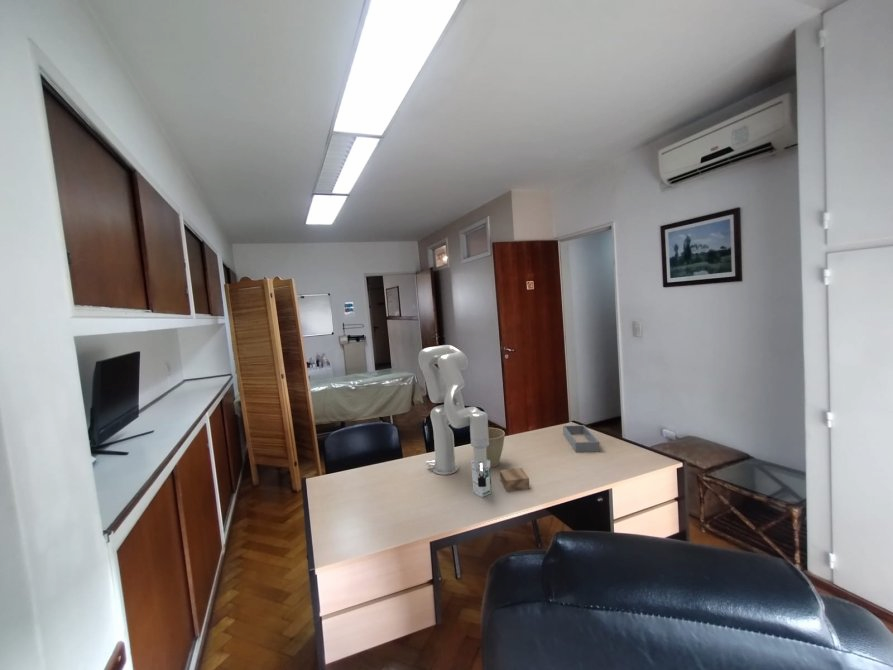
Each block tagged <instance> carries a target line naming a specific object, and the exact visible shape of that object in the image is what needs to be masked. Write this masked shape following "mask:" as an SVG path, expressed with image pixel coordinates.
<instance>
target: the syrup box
mask: <svg viewBox="0 0 893 670" xmlns="http://www.w3.org/2000/svg"><path fill="white" fill-rule="evenodd" d="M482 464H483V462H482ZM470 465H471V476H472V491H473V493H474V494H476V495H477V496H479V497H481V498H483V497H485V496H488V495H489V494H490V495H491V494H492V493H493V487H492V485H493V484H492V474H491V473H492V472H491V467H490V460H489V459H487V463H486V471H485V477H486V487H478V471H475V469H474V459H471V464H470ZM479 470H480V463H479ZM483 470H484V468H483ZM483 473H484V472H483ZM479 474H480V472H479Z"/></svg>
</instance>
